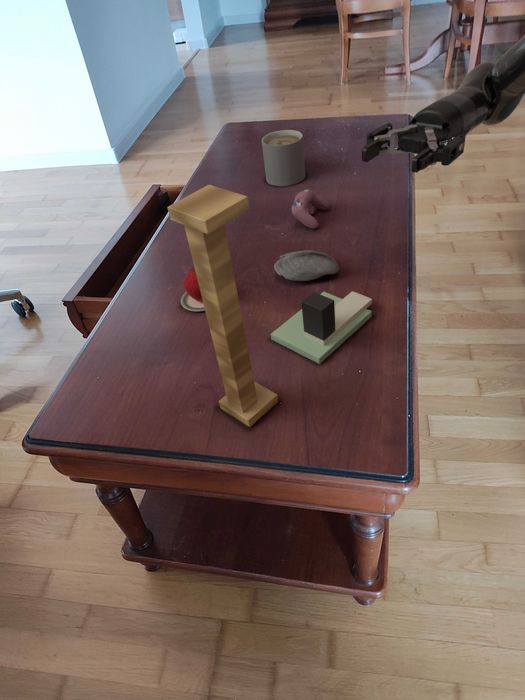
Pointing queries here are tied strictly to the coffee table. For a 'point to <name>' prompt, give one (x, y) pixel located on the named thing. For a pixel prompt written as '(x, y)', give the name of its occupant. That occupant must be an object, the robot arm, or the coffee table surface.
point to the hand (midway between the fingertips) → (388, 160)
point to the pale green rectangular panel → (296, 341)
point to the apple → (192, 293)
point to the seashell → (305, 265)
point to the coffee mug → (284, 157)
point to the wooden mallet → (330, 315)
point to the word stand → (222, 296)
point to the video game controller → (307, 207)
